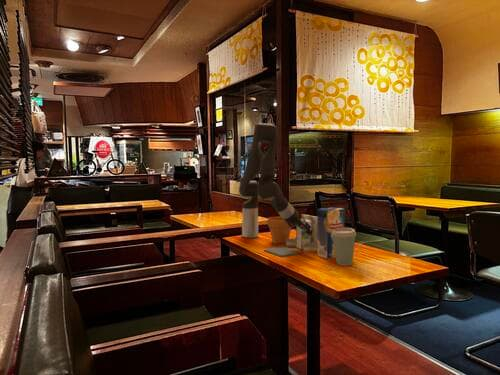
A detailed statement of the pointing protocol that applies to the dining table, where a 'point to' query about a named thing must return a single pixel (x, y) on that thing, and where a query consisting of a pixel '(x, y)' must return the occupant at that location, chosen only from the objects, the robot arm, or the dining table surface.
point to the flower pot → (279, 229)
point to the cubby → (313, 244)
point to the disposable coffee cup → (344, 245)
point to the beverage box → (328, 229)
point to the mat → (282, 251)
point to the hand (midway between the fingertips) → (305, 232)
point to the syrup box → (302, 236)
